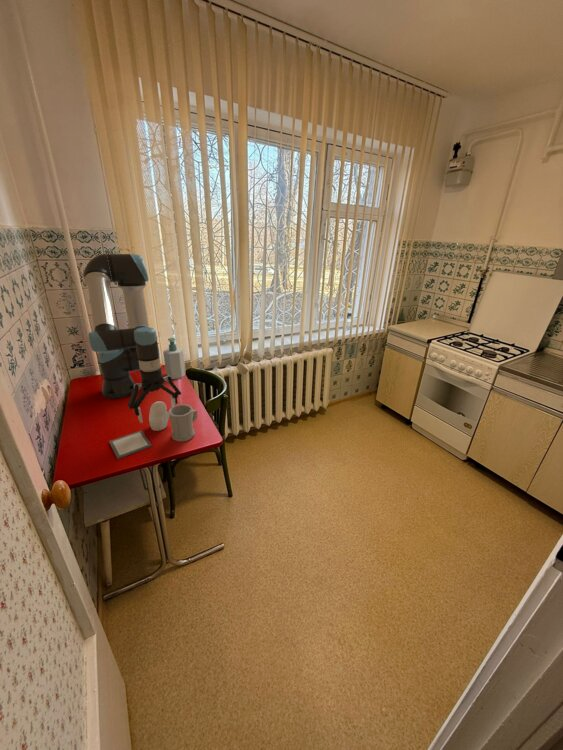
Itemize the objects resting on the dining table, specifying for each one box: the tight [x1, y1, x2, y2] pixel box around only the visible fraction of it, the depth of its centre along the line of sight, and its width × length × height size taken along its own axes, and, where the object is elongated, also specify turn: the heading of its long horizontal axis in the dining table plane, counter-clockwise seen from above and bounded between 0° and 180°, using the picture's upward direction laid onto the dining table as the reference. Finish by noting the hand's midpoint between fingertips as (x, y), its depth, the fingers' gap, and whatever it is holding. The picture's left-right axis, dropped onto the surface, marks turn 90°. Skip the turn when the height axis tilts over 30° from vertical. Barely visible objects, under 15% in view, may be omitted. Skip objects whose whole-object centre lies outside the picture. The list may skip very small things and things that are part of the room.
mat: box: [108, 430, 153, 460], centre depth 115 cm, size 12×12×1 cm
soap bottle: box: [162, 337, 186, 380], centre depth 167 cm, size 10×9×22 cm
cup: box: [168, 403, 198, 442], centre depth 120 cm, size 10×9×12 cm
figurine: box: [148, 401, 170, 432], centre depth 124 cm, size 7×8×12 cm
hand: (158, 415), depth 124 cm, fingers open, 13 cm apart
